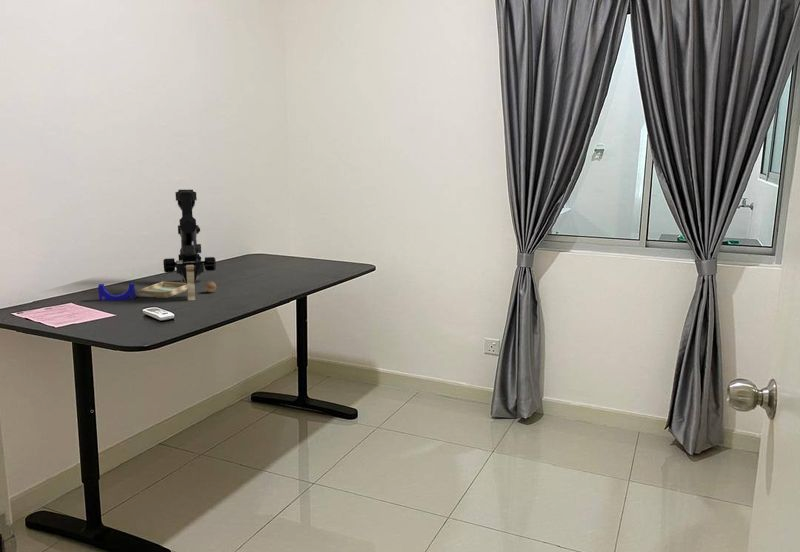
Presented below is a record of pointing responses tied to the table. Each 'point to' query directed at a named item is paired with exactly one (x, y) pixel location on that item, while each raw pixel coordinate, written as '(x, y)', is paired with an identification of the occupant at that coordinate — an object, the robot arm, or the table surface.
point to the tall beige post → (190, 282)
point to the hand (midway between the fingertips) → (190, 283)
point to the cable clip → (111, 297)
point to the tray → (162, 290)
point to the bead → (210, 286)
